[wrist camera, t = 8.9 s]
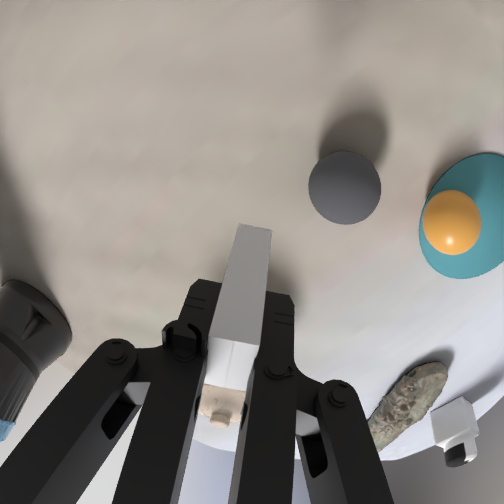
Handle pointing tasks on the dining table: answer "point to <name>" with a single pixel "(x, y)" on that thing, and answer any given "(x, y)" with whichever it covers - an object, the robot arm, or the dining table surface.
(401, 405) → the long grey stone
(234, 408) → the teacup with lid
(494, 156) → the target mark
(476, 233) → the object ball
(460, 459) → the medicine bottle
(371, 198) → the dark grey ball
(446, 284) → the dining table surface
